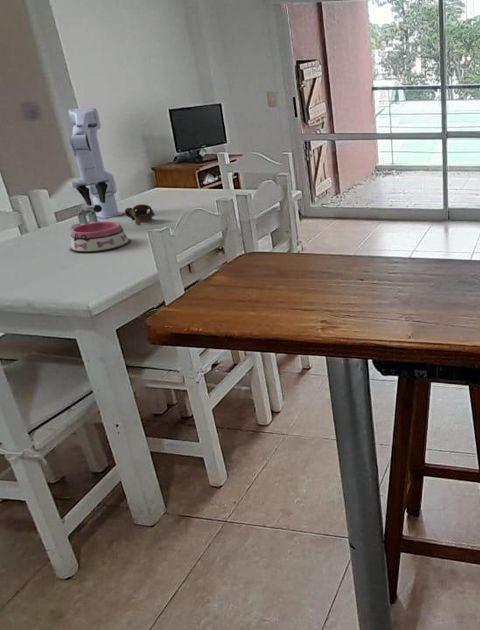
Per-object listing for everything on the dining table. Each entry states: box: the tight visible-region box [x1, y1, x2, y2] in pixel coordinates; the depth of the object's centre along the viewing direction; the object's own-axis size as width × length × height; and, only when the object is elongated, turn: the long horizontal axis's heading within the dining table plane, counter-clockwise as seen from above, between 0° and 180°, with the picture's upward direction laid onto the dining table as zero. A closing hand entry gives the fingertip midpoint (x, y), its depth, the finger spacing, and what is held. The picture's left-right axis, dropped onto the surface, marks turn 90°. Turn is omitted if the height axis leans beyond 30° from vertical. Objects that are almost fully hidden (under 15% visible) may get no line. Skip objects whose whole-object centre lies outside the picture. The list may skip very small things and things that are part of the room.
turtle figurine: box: [124, 203, 156, 226], centre depth 234 cm, size 12×9×8 cm
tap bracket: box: [71, 205, 100, 229], centre depth 228 cm, size 10×9×8 cm
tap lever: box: [83, 204, 102, 217], centre depth 224 cm, size 13×3×3 cm, turn 56°
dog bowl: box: [70, 221, 130, 254], centre depth 204 cm, size 18×19×7 cm
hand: (96, 203), depth 221 cm, fingers open, 5 cm apart
